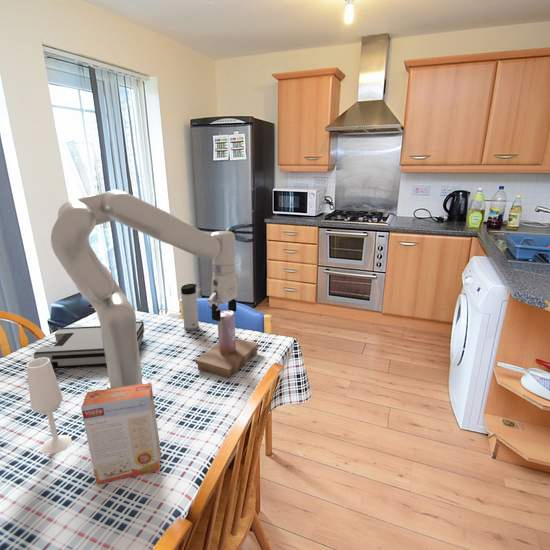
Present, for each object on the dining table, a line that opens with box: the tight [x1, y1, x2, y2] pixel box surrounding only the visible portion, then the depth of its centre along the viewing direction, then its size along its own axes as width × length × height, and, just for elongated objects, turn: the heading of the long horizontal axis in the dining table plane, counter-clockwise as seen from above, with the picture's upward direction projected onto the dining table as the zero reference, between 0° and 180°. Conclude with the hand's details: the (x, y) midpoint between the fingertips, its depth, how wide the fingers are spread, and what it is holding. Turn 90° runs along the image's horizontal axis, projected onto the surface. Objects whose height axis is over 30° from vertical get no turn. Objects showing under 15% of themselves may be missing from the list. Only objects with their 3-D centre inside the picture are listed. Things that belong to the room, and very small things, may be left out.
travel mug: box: [180, 283, 200, 332], centre depth 156 cm, size 6×7×20 cm
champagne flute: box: [25, 357, 72, 455], centre depth 90 cm, size 7×7×24 cm
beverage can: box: [217, 309, 236, 355], centre depth 128 cm, size 6×6×15 cm
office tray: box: [32, 320, 145, 369], centre depth 136 cm, size 21×32×8 cm, turn 96°
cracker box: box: [80, 382, 162, 484], centre depth 83 cm, size 14×6×21 cm, turn 104°
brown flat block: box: [194, 337, 260, 380], centre depth 131 cm, size 20×14×4 cm
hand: (224, 315), depth 126 cm, fingers open, 9 cm apart
